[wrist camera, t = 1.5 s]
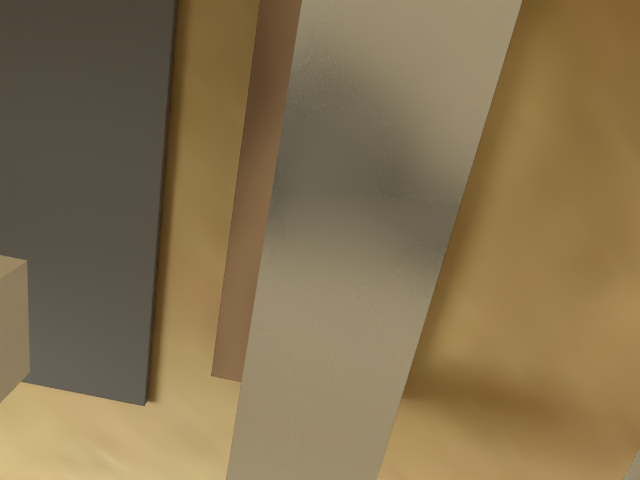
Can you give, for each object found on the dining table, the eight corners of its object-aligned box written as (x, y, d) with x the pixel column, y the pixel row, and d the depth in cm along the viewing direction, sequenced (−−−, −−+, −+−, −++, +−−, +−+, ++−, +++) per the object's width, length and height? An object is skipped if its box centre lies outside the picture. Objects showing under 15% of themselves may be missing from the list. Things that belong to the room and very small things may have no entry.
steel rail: (214, 630, 19) (179, 774, 16) (403, -473, 9) (435, -846, 5) (296, 646, 19) (280, 794, 16) (588, -436, 9) (760, -780, 5)
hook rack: (217, 360, 32) (93, 654, 17) (288, -164, 22) (136, -548, 7) (383, 393, 32) (402, 715, 17) (528, -115, 22) (876, -395, 7)
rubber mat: (-12, 369, 33) (-17, 374, 33) (-59, -364, 20) (-69, -374, 20) (147, 400, 33) (144, 406, 33) (201, -311, 20) (197, -319, 20)
